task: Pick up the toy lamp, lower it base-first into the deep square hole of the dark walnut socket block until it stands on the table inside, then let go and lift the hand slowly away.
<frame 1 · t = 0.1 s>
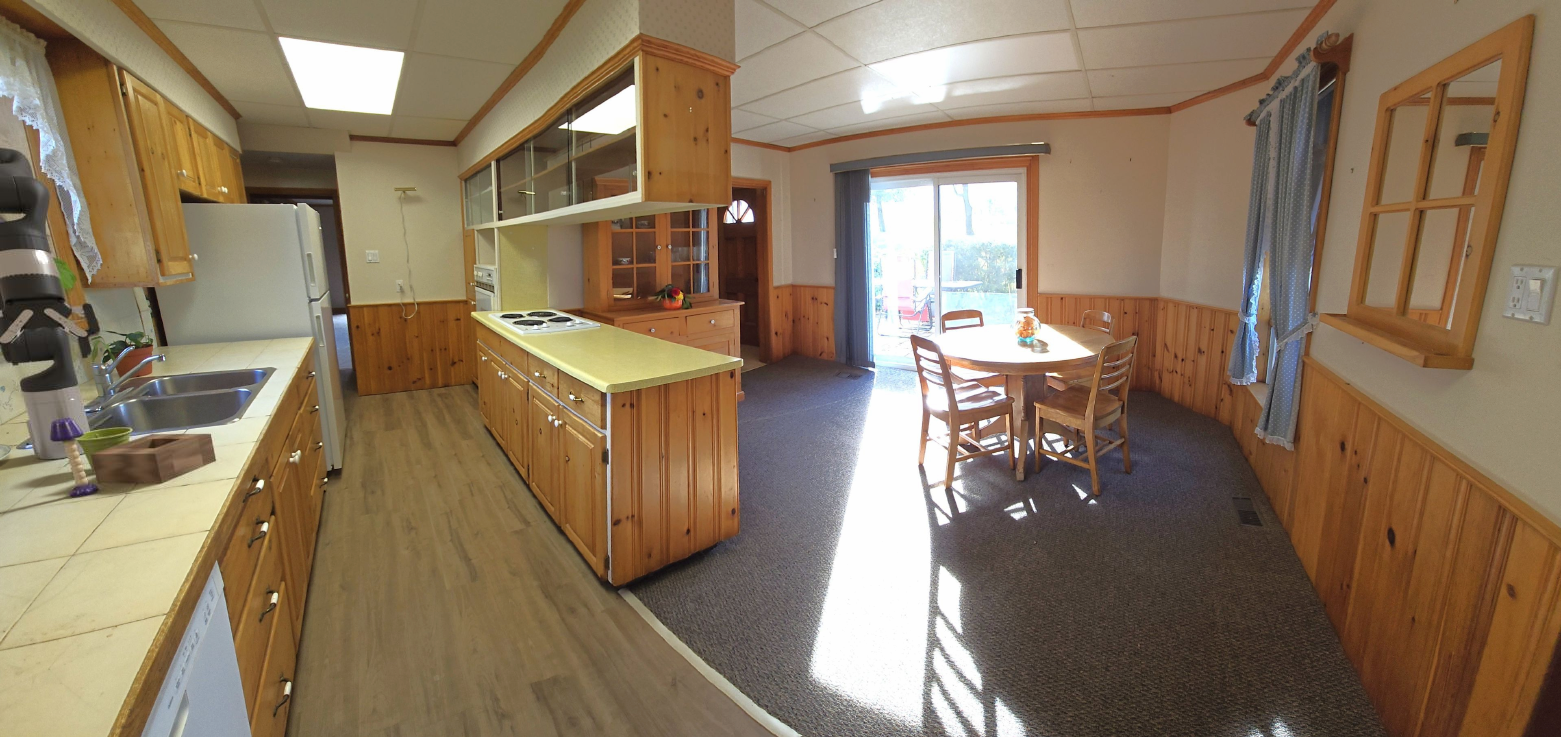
hand: (51, 360, 115), 31 cm above the counter, tool tilted 20°, fingers open, 8 cm apart
toy lamp: (82, 494, 132), on the counter
plant pot: (112, 468, 147), on the counter
socket block: (159, 471, 145), on the counter
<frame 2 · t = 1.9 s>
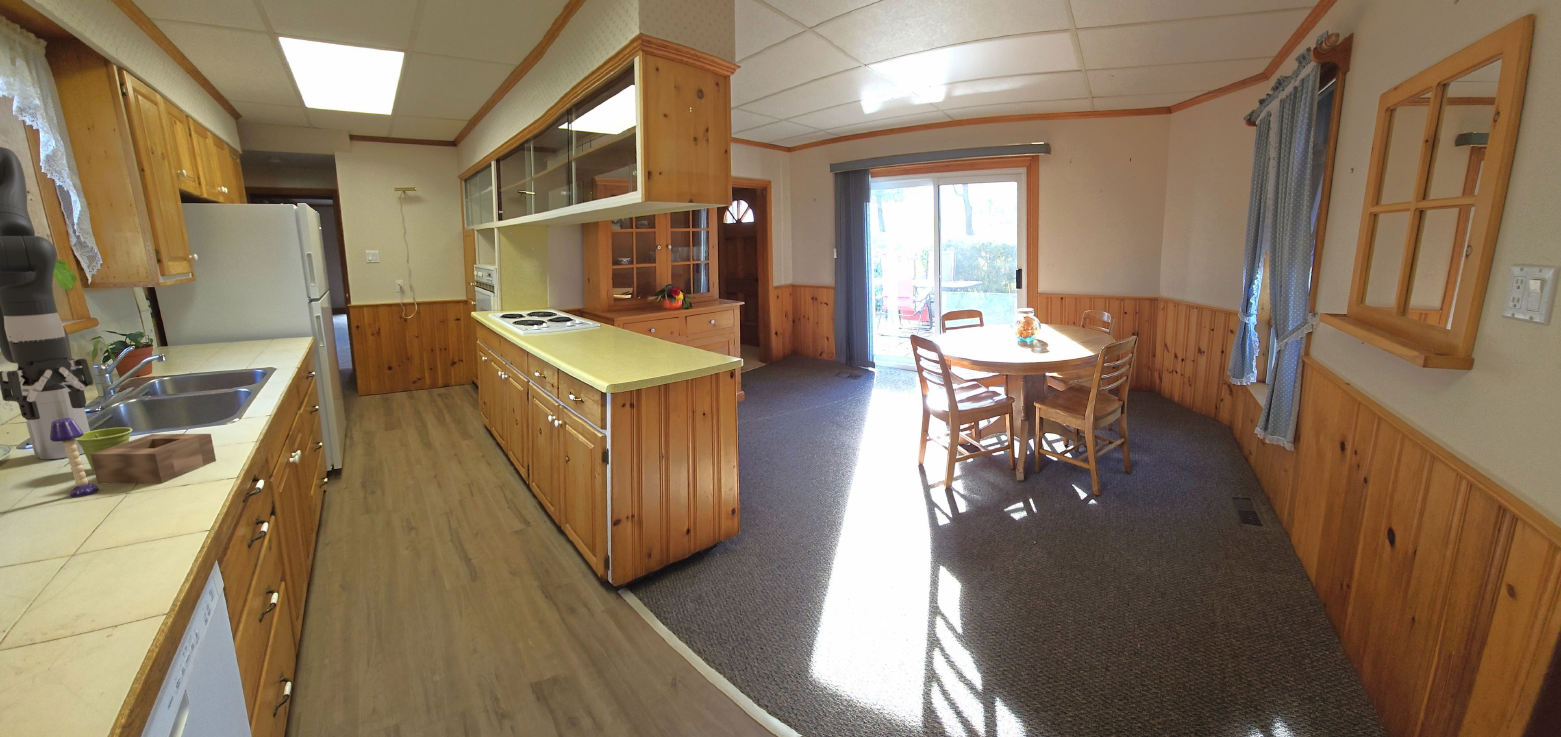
hand: (56, 413, 128), 18 cm above the counter, tool pointing down, fingers open, 8 cm apart
nothing on the counter moved.
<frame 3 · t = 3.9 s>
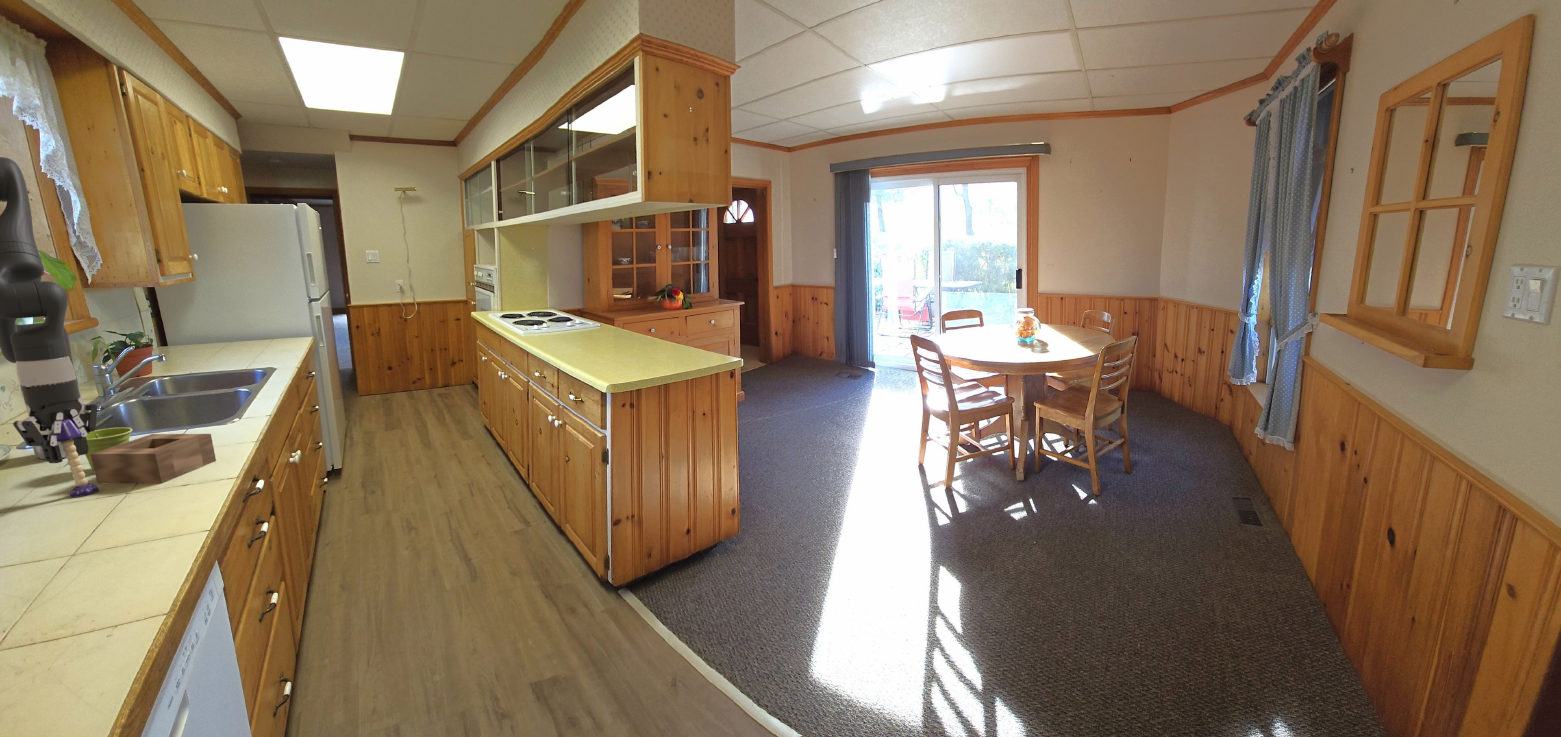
hand: (68, 458, 130), 8 cm above the counter, tool pointing down, fingers closed on toy lamp, 4 cm apart
toy lamp: (82, 494, 132), on the counter, touching gripper
everything else where it was.
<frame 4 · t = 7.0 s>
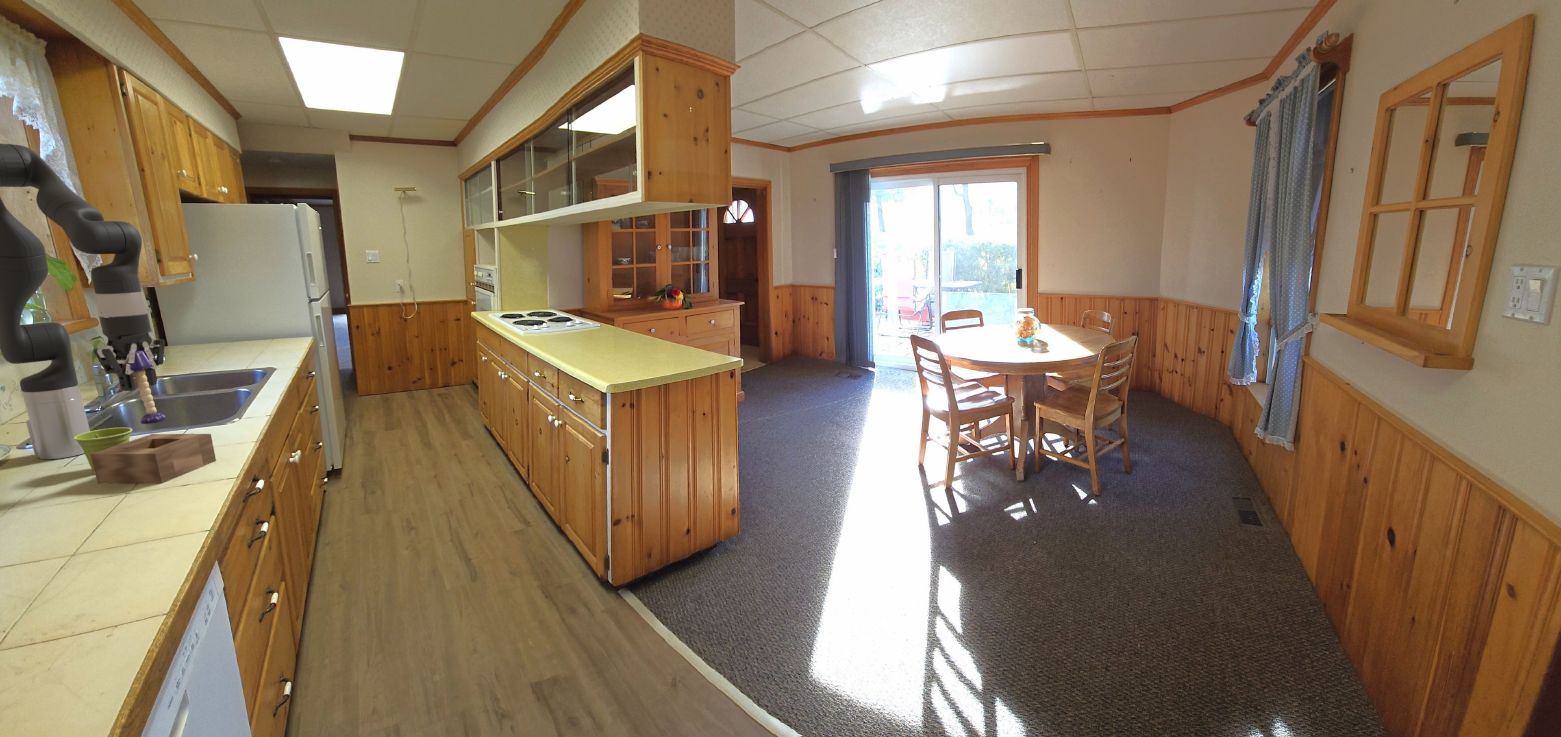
hand: (140, 387, 140), 20 cm above the counter, tool pointing down, fingers closed on toy lamp, 4 cm apart
toy lamp: (152, 422, 142), point 12 cm above the counter, touching gripper
everything else where it was.
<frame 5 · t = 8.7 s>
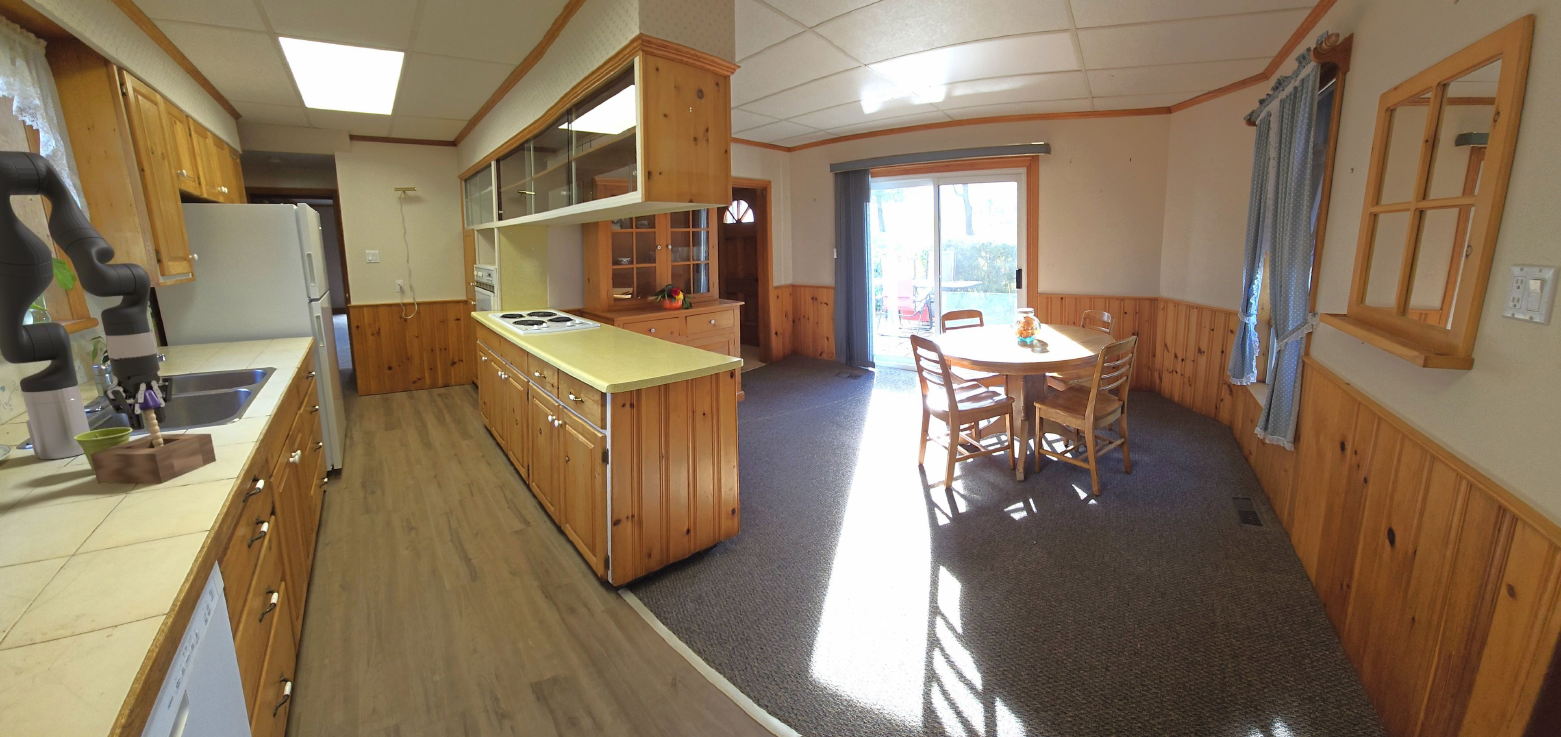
hand: (148, 425, 142), 11 cm above the counter, tool pointing down, fingers closed on toy lamp, 4 cm apart
toy lamp: (160, 459, 144), point 3 cm above the counter, touching gripper
everything else where it was.
when the fingers open (9 cm above the counter, at t = 10.1 s): toy lamp stays where it is, resting in socket block.
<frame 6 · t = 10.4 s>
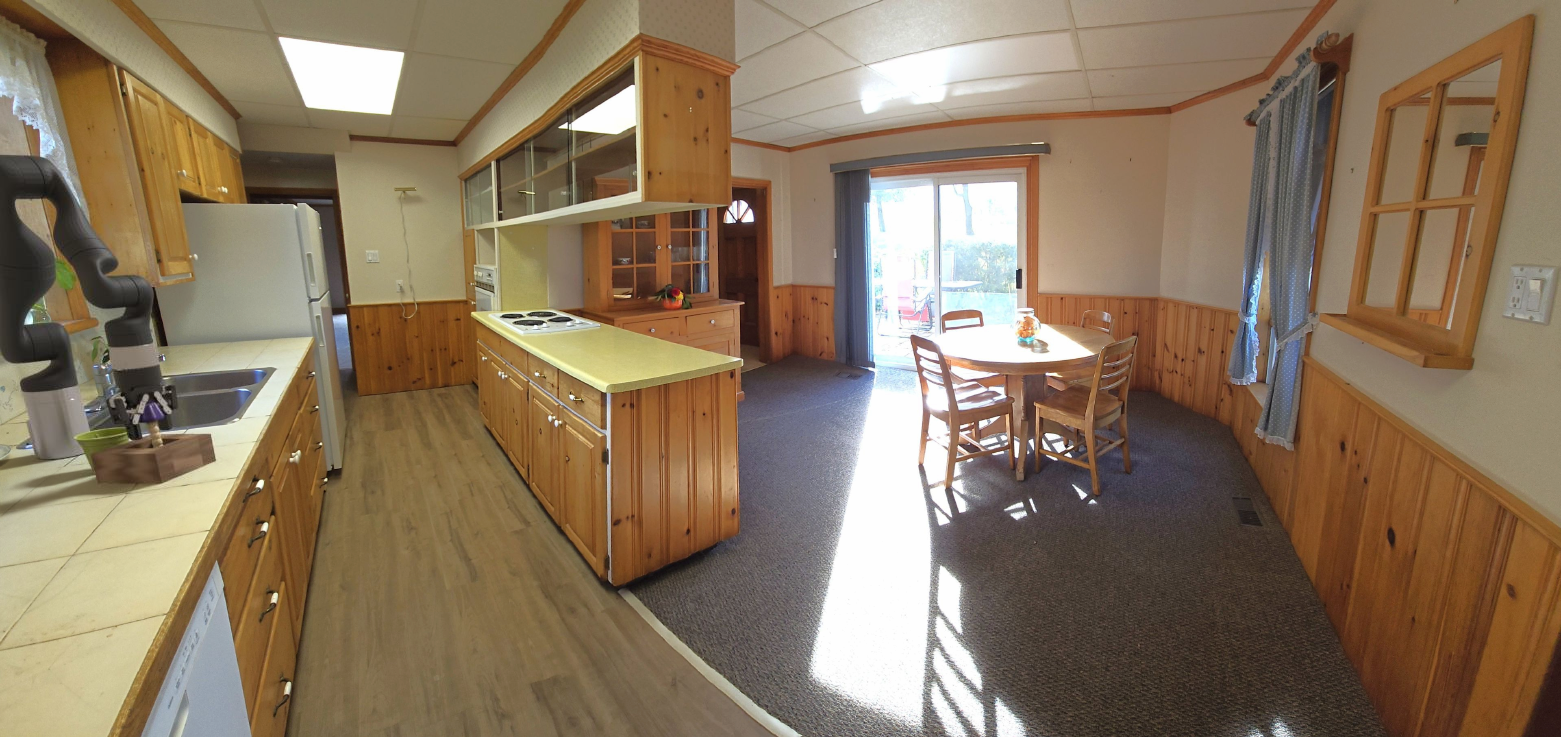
hand: (151, 434, 143), 9 cm above the counter, tool pointing down, fingers open, 6 cm apart
toy lamp: (162, 471, 145), resting in socket block
everything else where it was.
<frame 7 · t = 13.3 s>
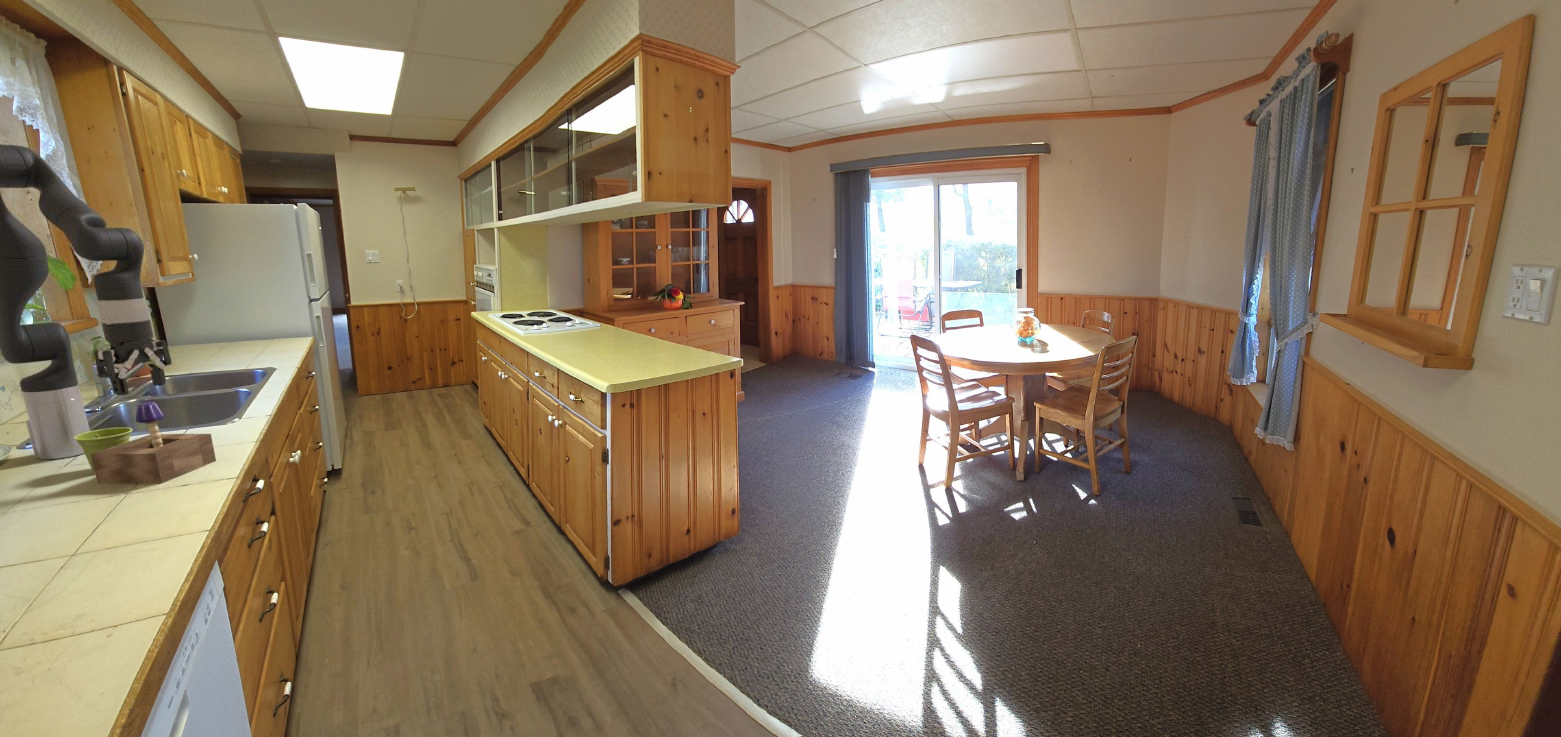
hand: (141, 389, 140), 20 cm above the counter, tool pointing down, fingers open, 8 cm apart
nothing on the counter moved.
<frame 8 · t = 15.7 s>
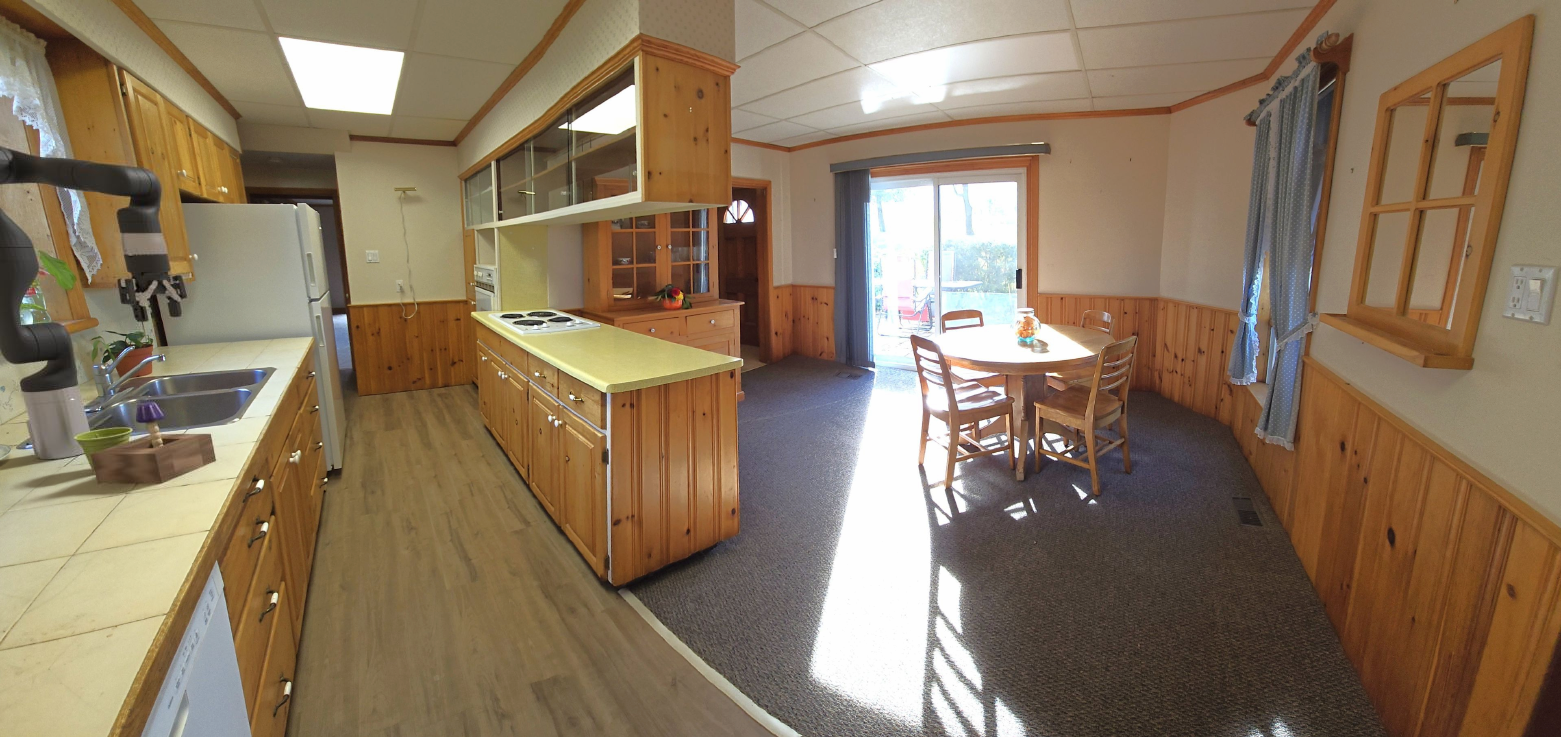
hand: (159, 319, 152), 34 cm above the counter, tool pointing down, fingers open, 8 cm apart
nothing on the counter moved.
at the end: toy lamp 0.5 cm off-centre on the socket block, point 0.0 cm above the socket block's base; toy lamp tilted 0°; the gripper is holding nothing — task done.
